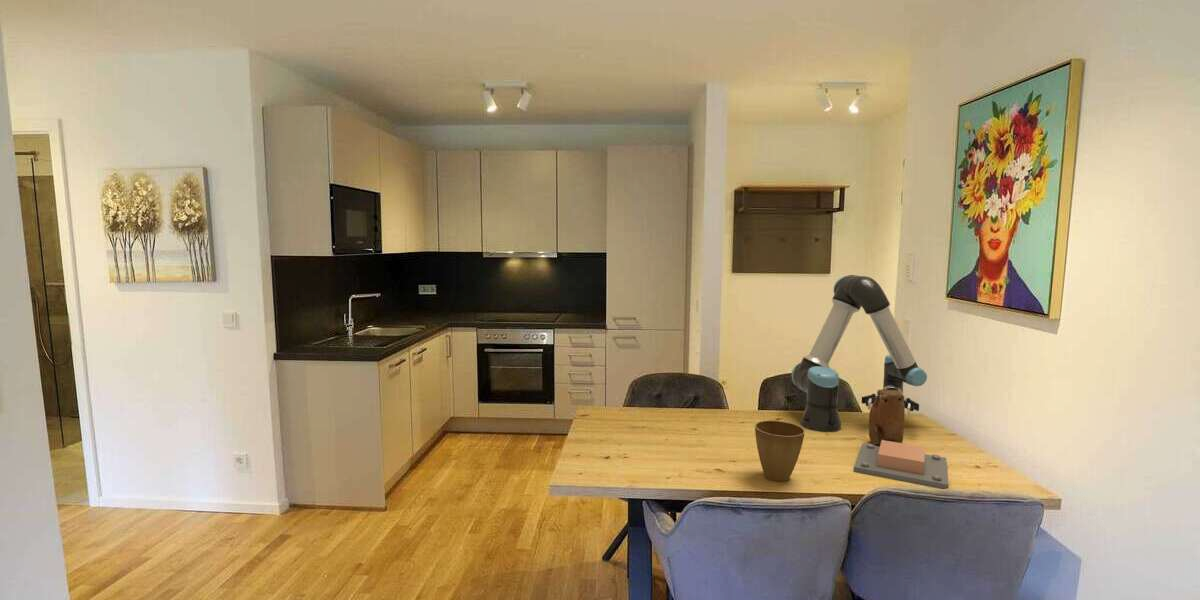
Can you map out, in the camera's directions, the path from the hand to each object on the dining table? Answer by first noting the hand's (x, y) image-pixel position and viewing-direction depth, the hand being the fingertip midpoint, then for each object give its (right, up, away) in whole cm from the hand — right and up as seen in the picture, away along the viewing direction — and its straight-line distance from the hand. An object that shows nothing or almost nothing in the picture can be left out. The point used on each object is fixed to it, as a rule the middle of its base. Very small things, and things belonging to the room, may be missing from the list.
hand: (888, 408), depth 214 cm
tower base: (-11, -14, -29) cm, 34 cm away
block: (-5, -12, -7) cm, 15 cm away
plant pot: (-55, -14, -39) cm, 69 cm away
